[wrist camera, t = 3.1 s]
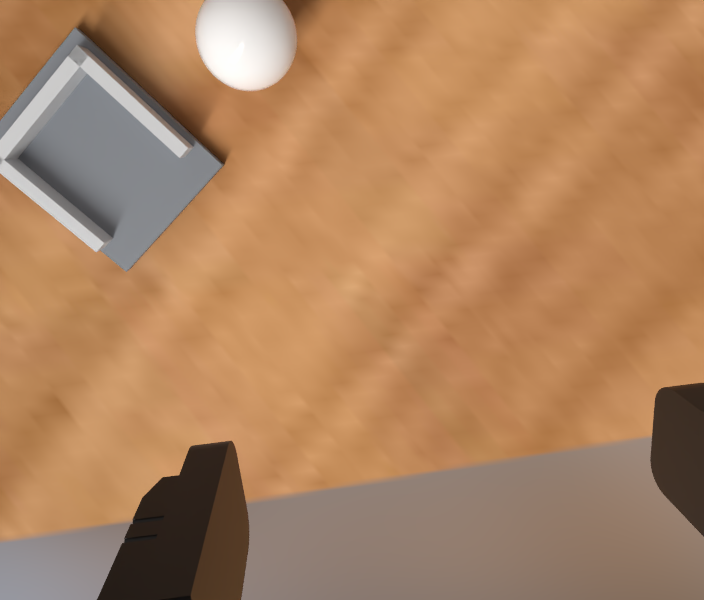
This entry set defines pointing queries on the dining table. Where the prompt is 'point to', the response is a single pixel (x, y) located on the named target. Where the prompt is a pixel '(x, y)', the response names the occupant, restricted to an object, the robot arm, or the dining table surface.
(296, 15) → the dining table surface
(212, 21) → the lightbulb
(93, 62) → the u holder
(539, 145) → the dining table surface
